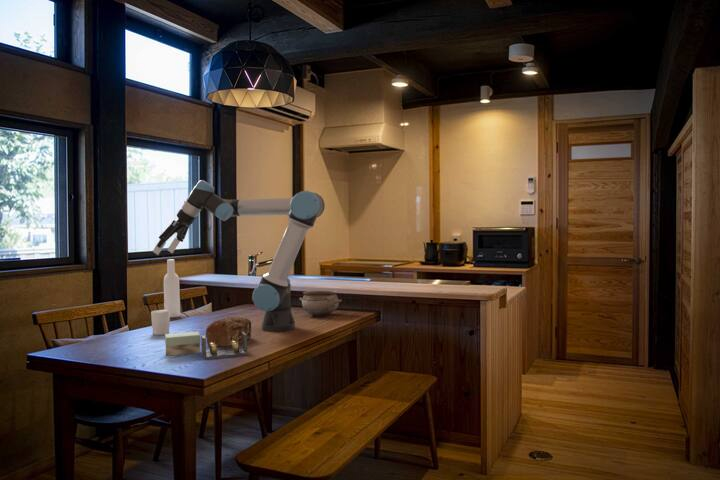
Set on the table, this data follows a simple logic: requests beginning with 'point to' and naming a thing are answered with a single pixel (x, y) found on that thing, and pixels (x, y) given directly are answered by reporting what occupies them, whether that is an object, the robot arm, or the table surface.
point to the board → (182, 338)
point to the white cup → (160, 321)
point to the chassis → (225, 349)
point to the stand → (183, 349)
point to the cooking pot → (320, 302)
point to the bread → (228, 331)
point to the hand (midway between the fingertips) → (162, 252)
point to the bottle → (171, 290)
